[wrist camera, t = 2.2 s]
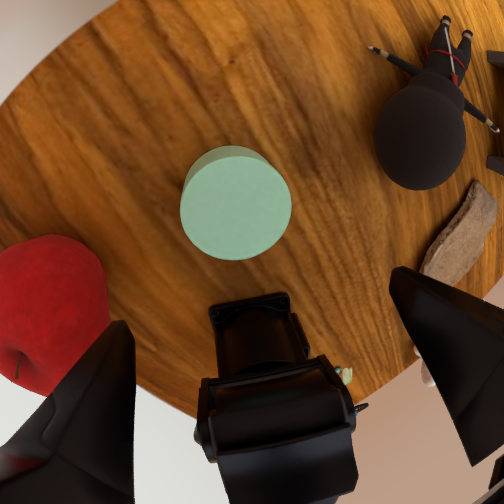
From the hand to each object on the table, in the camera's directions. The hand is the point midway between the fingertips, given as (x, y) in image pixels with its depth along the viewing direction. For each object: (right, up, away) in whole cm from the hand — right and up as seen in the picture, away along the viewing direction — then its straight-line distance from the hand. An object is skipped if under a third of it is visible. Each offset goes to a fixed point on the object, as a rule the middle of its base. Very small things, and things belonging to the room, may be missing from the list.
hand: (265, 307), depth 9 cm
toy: (+11, +14, +7) cm, 19 cm away
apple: (-14, +1, +10) cm, 17 cm away
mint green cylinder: (-2, +6, +9) cm, 11 cm away
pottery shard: (+19, +2, +15) cm, 25 cm away
